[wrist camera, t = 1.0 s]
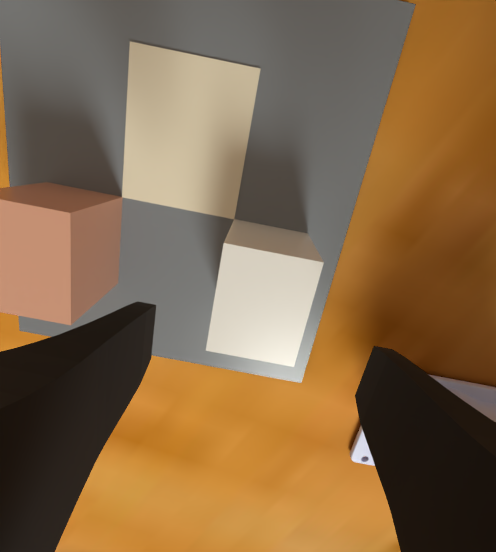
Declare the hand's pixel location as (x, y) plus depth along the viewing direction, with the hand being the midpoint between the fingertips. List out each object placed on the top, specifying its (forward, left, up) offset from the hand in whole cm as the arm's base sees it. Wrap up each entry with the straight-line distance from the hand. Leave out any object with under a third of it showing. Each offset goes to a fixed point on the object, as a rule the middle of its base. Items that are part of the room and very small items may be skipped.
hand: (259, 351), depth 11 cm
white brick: (0, 0, -8) cm, 8 cm away
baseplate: (+5, -3, -9) cm, 11 cm away
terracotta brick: (+10, 0, -8) cm, 13 cm away
